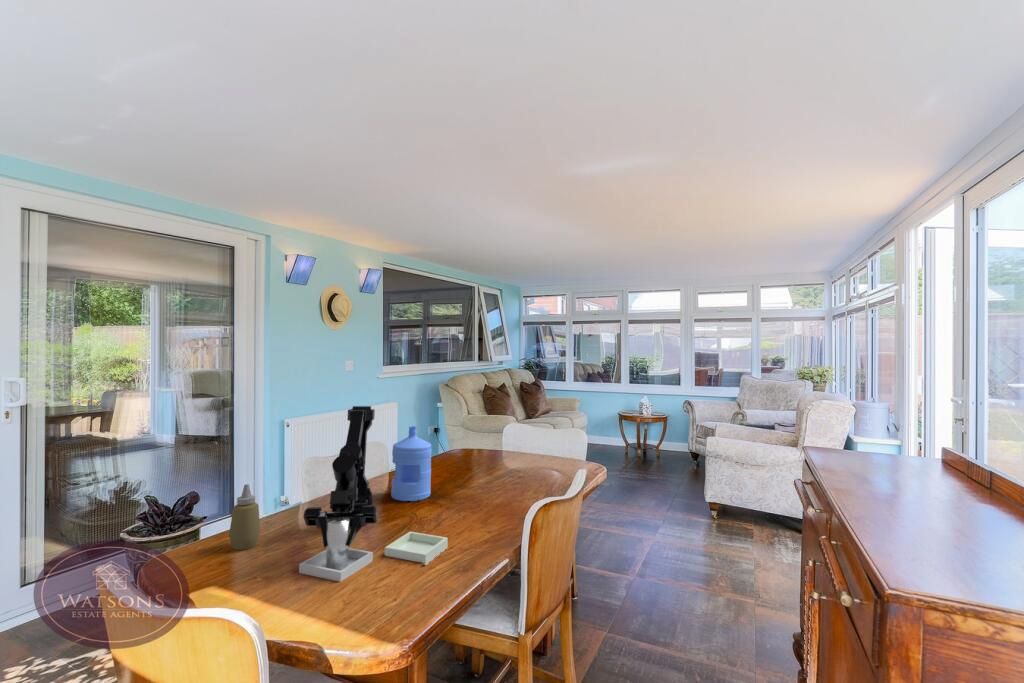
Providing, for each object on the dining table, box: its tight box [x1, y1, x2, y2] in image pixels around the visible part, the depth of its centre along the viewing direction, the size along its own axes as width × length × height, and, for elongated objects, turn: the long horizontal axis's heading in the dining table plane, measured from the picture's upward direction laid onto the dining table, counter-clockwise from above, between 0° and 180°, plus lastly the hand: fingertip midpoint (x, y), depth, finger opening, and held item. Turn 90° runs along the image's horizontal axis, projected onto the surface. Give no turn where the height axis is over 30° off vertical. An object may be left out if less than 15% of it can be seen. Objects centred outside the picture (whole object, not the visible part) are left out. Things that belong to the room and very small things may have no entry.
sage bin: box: [384, 531, 449, 566], centre depth 136 cm, size 13×13×3 cm
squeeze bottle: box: [228, 483, 261, 551], centre depth 138 cm, size 8×8×18 cm
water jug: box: [390, 425, 433, 502], centre depth 191 cm, size 16×16×28 cm
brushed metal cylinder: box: [325, 517, 350, 570], centre depth 125 cm, size 6×6×12 cm
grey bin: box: [298, 547, 374, 582], centre depth 124 cm, size 13×13×3 cm
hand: (336, 546), depth 123 cm, fingers closed on brushed metal cylinder, 6 cm apart
